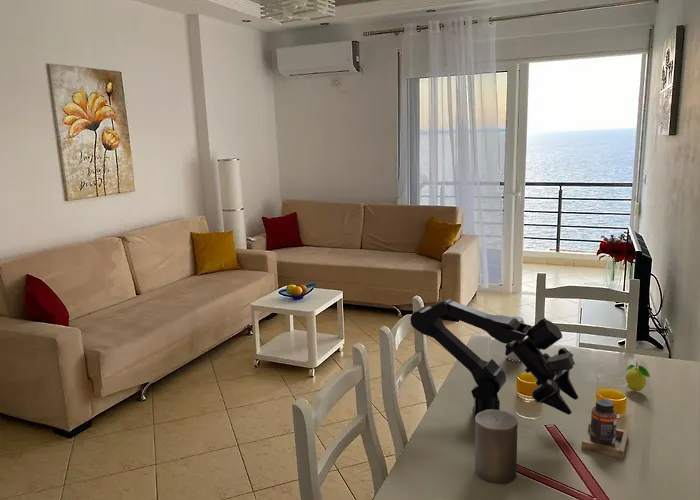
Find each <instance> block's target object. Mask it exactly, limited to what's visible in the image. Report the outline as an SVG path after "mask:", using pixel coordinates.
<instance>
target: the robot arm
mask: <svg viewBox="0 0 700 500" xmlns="http://www.w3.org/2000/svg"><path fill="white" fill-rule="evenodd" d="M444 316H446V317H450V318H452V319H454V320H458V321H459V322H462V323H465V324H467V325H470V326H472V327H475V328H479V329H480V330H483V331H485V332H486V333H487V334H488V335H489V336H490V337H492V338H493V339H495V340H497V342H500V343H502V344H505V353H504V354H505V356H506V355H509V354H510V353H511V352H513V353H514V354H515V355H516V356H517V357H518V358H519V360H520V361H519V362H521V363H522V364H523V366H524V367H525V369H524V371H525V372H526V374H528V373H530V374H531V375H532V376H533V377H534V378H535V380H536V381H535V384H536V385H537V386H535V388H534V389H533V391H532V393H531V394H532V395H531V397H532V399H533V400H534V401H535V402H536V403H537V404H538V403H540V404H545V405H547V406H549V407H552V408H553V409H556V410H558V411H560V412H562V413H564V414H566V415H571V414H572V413H573V412H572V410H571V409H570V407H569V405H568V404H567V403H566V401H565V400H564V398H563V397H562V395H561V392H562V393H564V394H566V395H567V396H568V397H570V398H571V399H573V400H574V401H576V400H578V399H579V396H578V394H577V392H576V390H575V387H574V386H573V384H572V382H571V380H570V371H571V370H572V369H574V365H576V363H575V360H574V358H573V357H574V353H572V352H571V351H570V350H568V349H567V348H566V347H562V348H559V349H558V352H557V353H556V354H555V355H553V356H550V355H549V354H548V353H546V352H545V353H542V351H541V350H543V351H545V350H547V349H548V348H550V347H551V346H553V345H554V344H556V342H558V341H559V340H560V341H561V339H562V338H563V333H562V331H561V330H560V328H559V326H557V324H555V323H553V322H552V321H550V320H548V319H547V318H546V317H541V319H539V321H538V322H537V323H535V324H534V325H532V324H531V325H530V324H527V323H525V322H524V323H525V324H524V323H521V322H519V321H518V320H517V319H515V318H512V317H513V316H507V315H499V314H496V315H494V314H489V313H487V312H484V311H482V310H479V309H476V308H473V307H470V306H468V305H466V304H463V303H460V302H457V301H456V300H455V301H454V300H453V299H452V298H445V299H443V300H442V301H439V302H438V303H436V304H434V305H432V306H429V305H428V306H427V305H425V306H422V307H420V308H418V309H417V310H415V311H414V312H413V313H412V314H411V315H410V318H409V319H410V325H411V326H412V327H413V329H415V330H416V331H418V332H419V333H421V334H422V335H424V336H428V337H430V338H432V339H434V340H435V341H436V343H439V345H441V347H442V348H444V349H445V350H446V351H447V352H448V353H449V354H451V355H452V356H453V358H455V359H456V360H457V361H458V363H460V364H461V365H463V367H465V368H466V369H467V370H468V371H469V372H470V373H471V375H472V378H473V380H474V382H475V384H476V385H475V386H474V387H473V388H472V390H470V391H471V395H472V398H473V407H472V409H473V415H474V418H475V417H476V415H477V414H478V413H479V412H482V411H485V410H490V409H492V410H501V409H500V398H499V396H498V393H499V392H500V390H501V389H502V388H503V386H505V384H506V383H507V374H506V373H505V371H504V368H503V366H500V365H499V364H497V362H496V361H495V360H494V359H493V358H490V360H489V361H487V360H483V359H482V357H480V356H478V355H477V354H476V353H475V352H474V351H473V350H472V349H471V348H469V347H468V346H467V345H466V344H465V343H464V342H463V341H462V340H460V338H458V337H457V336H456V334H454V333H453V332H452V331H450V330H449V329H448V328H447V327H446V326H445V324H444V322H443V320H442V318H441V317H444ZM524 338H525V339H524ZM523 339H524V340H523ZM512 341H515V342H514V343H512V344H511V343H510V342H512Z"/></svg>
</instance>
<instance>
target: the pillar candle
mask: <svg viewBox="0 0 700 500" xmlns="http://www.w3.org/2000/svg"><path fill="white" fill-rule="evenodd" d="M474 420H475V423H474V424H475V425H474V428H475V431H474V434H475V435H474V471H475V474H476V475H477V477H478V478H479V479H481V480H483V481H484V482H488V483H491V484H498V485H504V484H505V485H506V484H509V483H511V482H512V481H514V480H516V478H517V469H518V467H517V466H518V465H517V463H518V462H517V459H518V458H517V457H518V419H517V417H516V416H515V415H513V414H512V413H511V412H508V411H506V410H505V411H504V410H501V409H500V410H492V409H490V410H485V411H482V412H479V413H478V414H477V415H476V417H475V416H474Z"/></svg>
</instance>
